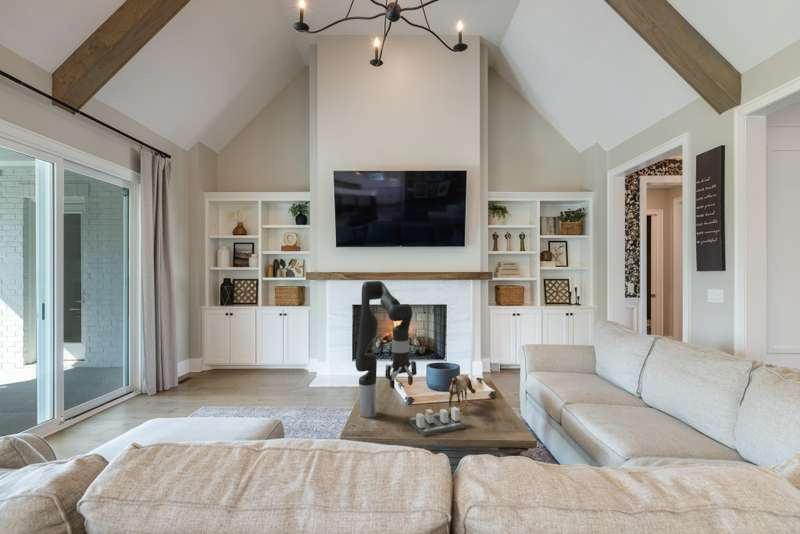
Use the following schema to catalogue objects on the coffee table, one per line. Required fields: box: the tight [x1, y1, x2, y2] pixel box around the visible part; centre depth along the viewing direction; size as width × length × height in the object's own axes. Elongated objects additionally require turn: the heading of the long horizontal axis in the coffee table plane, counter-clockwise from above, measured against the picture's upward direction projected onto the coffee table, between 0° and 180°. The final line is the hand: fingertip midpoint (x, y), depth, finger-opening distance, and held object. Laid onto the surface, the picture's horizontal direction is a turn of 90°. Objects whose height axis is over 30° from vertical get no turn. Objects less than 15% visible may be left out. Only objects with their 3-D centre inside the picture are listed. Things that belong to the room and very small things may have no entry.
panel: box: [407, 412, 465, 437], centre depth 204 cm, size 18×23×2 cm
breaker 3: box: [439, 408, 449, 423], centre depth 203 cm, size 4×2×6 cm, turn 22°
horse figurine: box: [448, 374, 477, 414], centre depth 227 cm, size 31×8×21 cm, turn 149°
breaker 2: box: [425, 408, 435, 423], centre depth 203 cm, size 4×3×6 cm, turn 22°
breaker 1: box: [415, 412, 425, 428], centre depth 198 cm, size 4×2×6 cm, turn 22°
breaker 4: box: [451, 406, 461, 421], centre depth 205 cm, size 4×2×6 cm, turn 22°
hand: (401, 386), depth 178 cm, fingers open, 8 cm apart
